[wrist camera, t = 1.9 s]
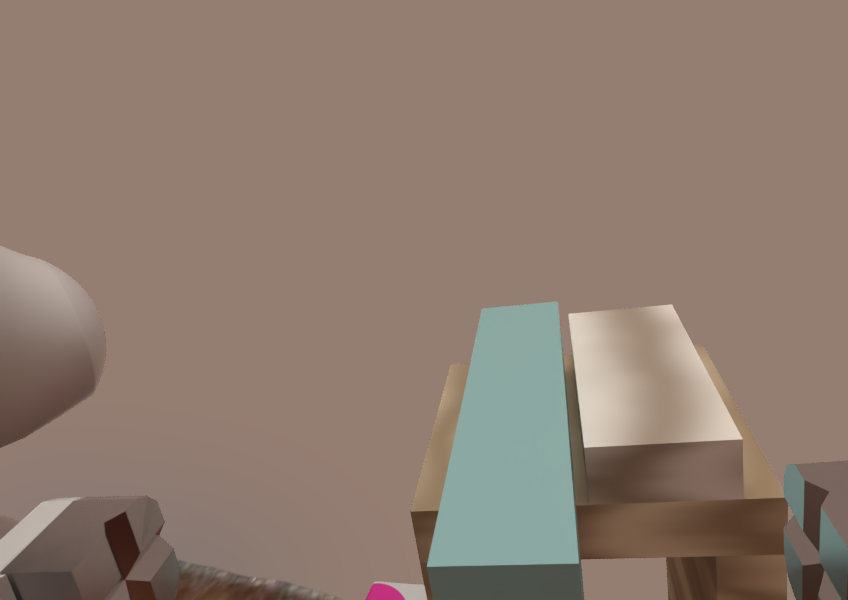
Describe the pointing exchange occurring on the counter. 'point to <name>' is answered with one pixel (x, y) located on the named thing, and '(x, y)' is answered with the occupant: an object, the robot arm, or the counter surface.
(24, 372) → the robot arm
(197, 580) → the counter surface
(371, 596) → the supplement box
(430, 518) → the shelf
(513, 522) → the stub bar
